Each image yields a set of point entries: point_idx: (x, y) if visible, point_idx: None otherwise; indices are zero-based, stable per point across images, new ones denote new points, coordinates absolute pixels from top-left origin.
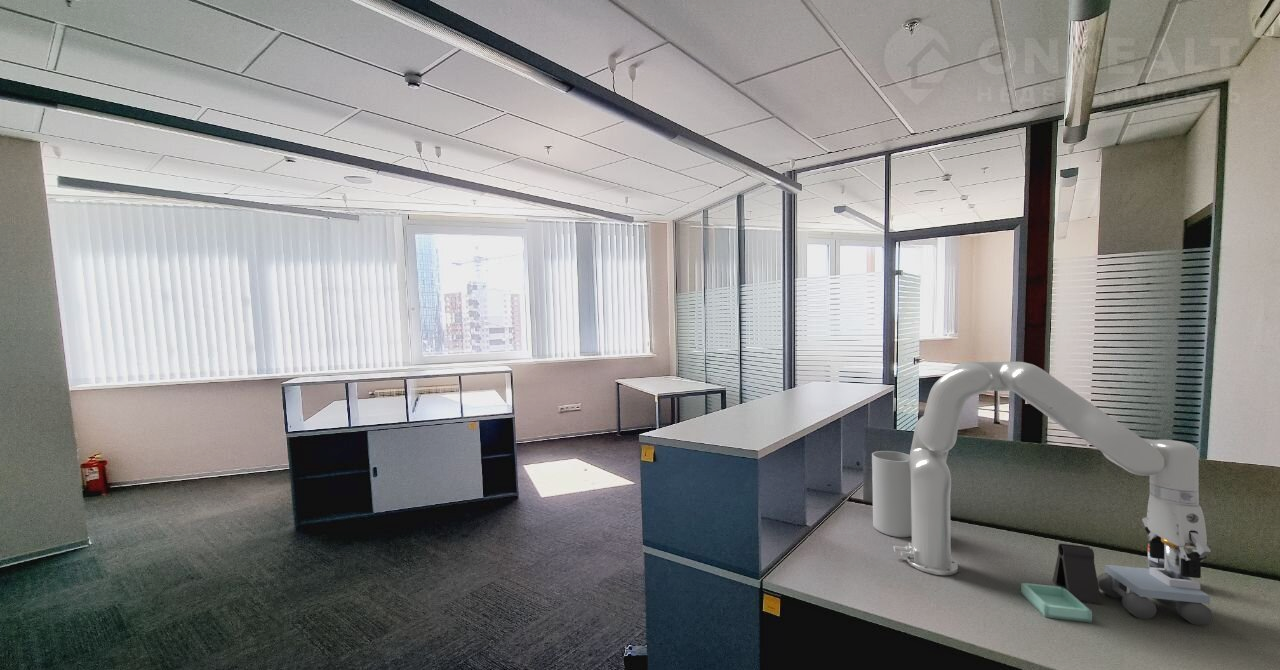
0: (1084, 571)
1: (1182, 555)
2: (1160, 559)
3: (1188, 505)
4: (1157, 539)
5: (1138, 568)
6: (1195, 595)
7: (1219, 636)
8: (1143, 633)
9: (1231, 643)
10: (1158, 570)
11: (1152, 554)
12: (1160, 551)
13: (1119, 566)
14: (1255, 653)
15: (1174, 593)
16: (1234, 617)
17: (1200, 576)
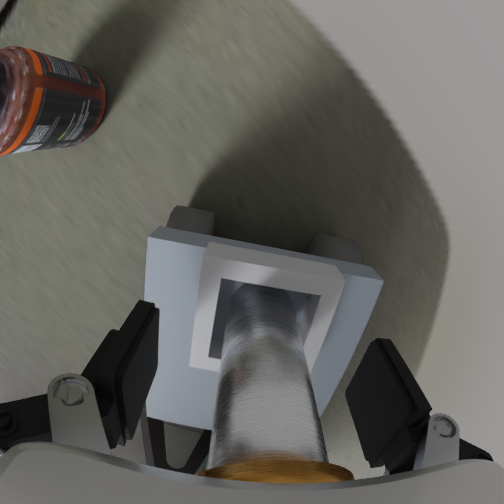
0: (201, 467)
1: (319, 422)
2: (35, 140)
3: None
4: (108, 440)
5: None
6: (365, 324)
7: (380, 258)
8: (342, 401)
9: (404, 259)
10: (208, 345)
11: (151, 381)
12: (146, 371)
13: (150, 392)
14: (436, 244)
15: (340, 376)
16: (293, 96)
17: (391, 342)
